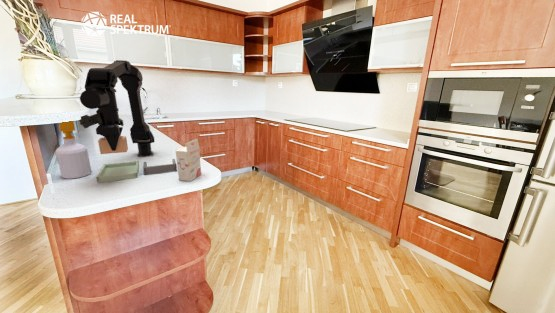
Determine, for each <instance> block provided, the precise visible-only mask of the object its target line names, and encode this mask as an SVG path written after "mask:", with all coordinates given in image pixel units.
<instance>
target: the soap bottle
mask: <svg viewBox="0 0 555 313" xmlns="http://www.w3.org/2000/svg"><path fill="white" fill-rule="evenodd" d="M58 125H59V129H58V130H59V132H60V133H62V134H64V136H63V137H62V138H63V139H62V140H63V144H61V145H59V146H58V148H56V150H55V154H56V159H57V163H58V166H59V170H60V175H61V178H63V179H67V180H68V179H69V180H73V179H80V178H84V177H86V176H89V175H90V174H92V171H93V170H92V166H91V162H90V158H89V151H88V148H87V147H86V145H83V144H81V143H78V142H77V140H76V137H75V136H74V135H72V133H73V131H76V127H75V123H74V120H73V121H69V122H62V123H58Z"/></svg>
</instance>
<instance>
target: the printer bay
mask: <svg viewBox="0 0 555 313" xmlns="http://www.w3.org/2000/svg"><path fill="white" fill-rule="evenodd" d="M171 160H172V161H171V162H172V163H169V164H168V163H166V164H160V165H159V164H158V165H149V166H148V165H147V163H148V162H147V161H143V164H142V169H143V175H144V176H148V175H157V174H163V173H165V174H166V173H172V172H178V167H177V161H176V159H175V158H171Z"/></svg>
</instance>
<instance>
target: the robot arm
mask: <svg viewBox="0 0 555 313" xmlns="http://www.w3.org/2000/svg"><path fill="white" fill-rule="evenodd" d="M113 61H114V62H112V63H110V64H108V65H106V66H104V67H91V68H89V70H88V71H87V73H86V74H87V75H86V78H85V84H84V89H85V90H84V91H82V92H81V94H80V96H79V100H80V101H79V102H80V103H81V104H82V105H83V107H85V108H87V109H89V110H94V109H95V110H96V109H97V110H96V113H94V114H91V115H88V114H85V115H82V116H80V119H79V120H78V121H79V125H81V126H82V127H83V128H84V129H88V128H90V127H92V126H94V125H97V124H98V126H97V127H96V128H95V133H96V135H100V136H102V137H105V138H106V139H107V141H108V143H109V145H110V147H111V149H112V151H115V150H116V147H117V143H118V140H119V136H122V131H123V128H124V127H123V126H124V120H123V119H122V118H120V116H119V108H118V102H117V97H116V96H117V95H116V93H117V89H116V86H117V85H116V84H117V83H118V80H119V81H120V82H121V86H122V88H124V89H125V90H126V92H127V96H128V101H129V108H130V112H131V118H132V122H133V124H132V125H131V127H130V128H129V132H130V139H131V141H132V144H137V150H138V152H137V157H146V156H153V154H154V152H153V150H152V144H153V143H155V136H154V134H153V132H152V131H151V128H150V125H148V124H147V123H146V121H145V116H144V110H143V105H142V99H141V92H140V90H141V88H142V86H143V73H142V72H141V71H140V69H139V68H137V67H136V66H134V65H132V64H131V62H130V61H127V60H123V59H122V60H121V59H120V60H119V59H118V60H117V59H115V60H113Z"/></svg>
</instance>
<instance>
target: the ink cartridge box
mask: <svg viewBox="0 0 555 313" xmlns="http://www.w3.org/2000/svg"><path fill="white" fill-rule="evenodd" d="M175 155H176V156H175V157H176V166H177V175H178V181H183V182H192V181H193V180H194V179H196V178H197V177H199V176H200V175H201V174H202V169H201V168H202V167H201V153H200V145H199V140H198V138H196V139H193V140H189V141H188V142H186V143H185V146H183V147H181V148H179V149H177V150H175Z"/></svg>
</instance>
